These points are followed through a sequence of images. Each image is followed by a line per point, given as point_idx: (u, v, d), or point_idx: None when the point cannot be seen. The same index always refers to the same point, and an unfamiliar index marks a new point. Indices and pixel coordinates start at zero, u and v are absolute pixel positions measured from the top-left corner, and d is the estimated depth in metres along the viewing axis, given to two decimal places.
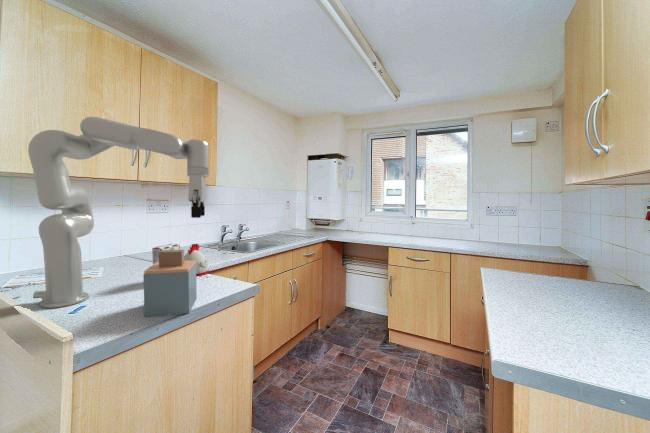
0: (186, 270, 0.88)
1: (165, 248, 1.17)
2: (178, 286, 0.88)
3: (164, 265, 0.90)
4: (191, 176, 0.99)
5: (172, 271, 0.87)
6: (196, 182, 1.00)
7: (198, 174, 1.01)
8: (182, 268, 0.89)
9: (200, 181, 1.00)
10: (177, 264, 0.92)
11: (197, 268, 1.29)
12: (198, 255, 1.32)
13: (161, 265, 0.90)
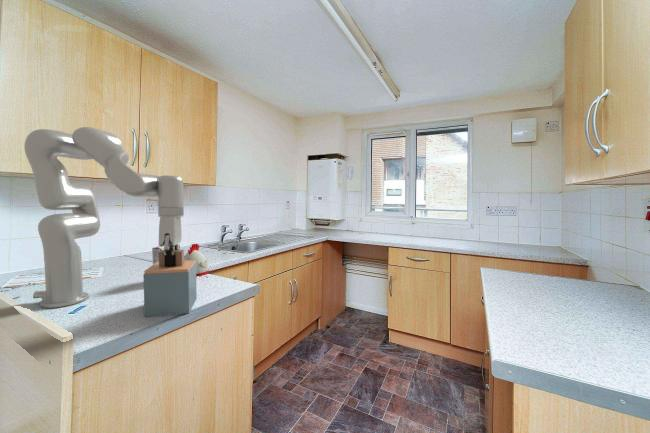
0: (186, 270, 0.88)
1: None
2: (178, 286, 0.88)
3: (164, 265, 0.90)
4: (162, 218, 0.87)
5: (172, 271, 0.87)
6: (167, 225, 0.87)
7: (170, 215, 0.88)
8: (182, 268, 0.89)
9: (172, 223, 0.88)
10: (177, 264, 0.92)
11: (197, 268, 1.29)
12: (198, 255, 1.32)
13: (161, 265, 0.90)
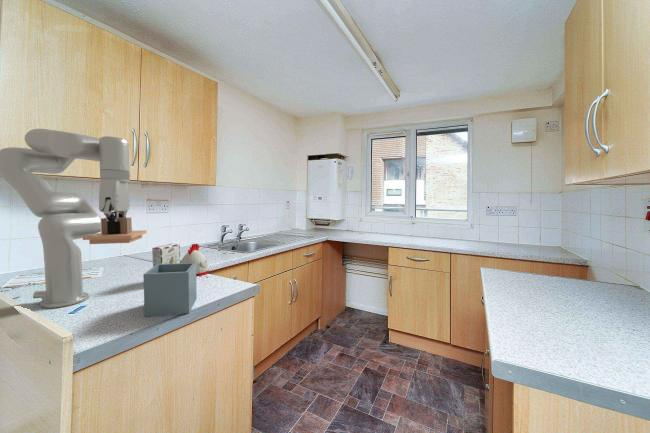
0: (129, 236, 0.83)
1: (165, 248, 1.17)
2: (178, 286, 0.88)
3: (107, 232, 0.85)
4: (102, 181, 0.82)
5: (114, 237, 0.82)
6: (108, 188, 0.82)
7: (112, 178, 0.83)
8: (126, 235, 0.84)
9: (114, 187, 0.82)
10: (122, 231, 0.86)
11: (197, 268, 1.29)
12: (198, 255, 1.32)
13: (104, 232, 0.85)
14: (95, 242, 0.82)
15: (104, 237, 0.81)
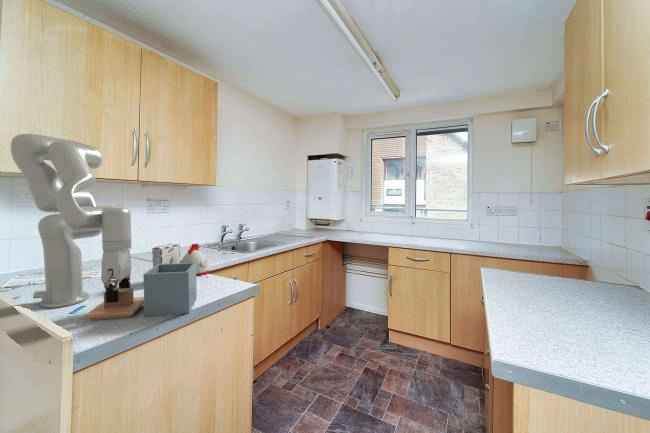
0: (131, 312, 0.85)
1: (165, 248, 1.17)
2: (178, 286, 0.88)
3: (110, 306, 0.87)
4: (104, 253, 0.83)
5: (116, 314, 0.84)
6: (111, 260, 0.84)
7: (114, 250, 0.85)
8: (127, 310, 0.86)
9: (116, 258, 0.84)
10: (124, 304, 0.88)
11: (197, 268, 1.29)
12: (198, 255, 1.32)
13: (106, 306, 0.87)
14: (97, 318, 0.83)
15: (106, 314, 0.83)
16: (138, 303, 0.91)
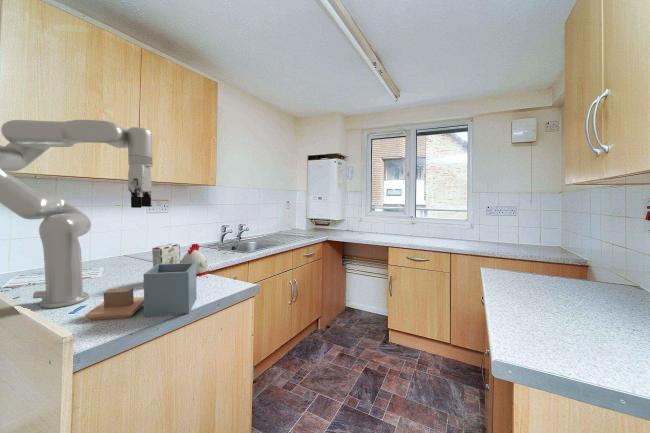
0: (130, 312, 0.85)
1: (165, 248, 1.17)
2: (178, 286, 0.88)
3: (110, 306, 0.87)
4: (131, 165, 0.97)
5: (115, 314, 0.84)
6: (136, 171, 0.97)
7: (139, 163, 0.98)
8: (127, 310, 0.85)
9: (140, 170, 0.97)
10: (124, 304, 0.88)
11: (197, 268, 1.29)
12: (198, 255, 1.32)
13: (106, 306, 0.87)
14: (97, 318, 0.84)
15: (106, 314, 0.83)
16: (138, 303, 0.91)
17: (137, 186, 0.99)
